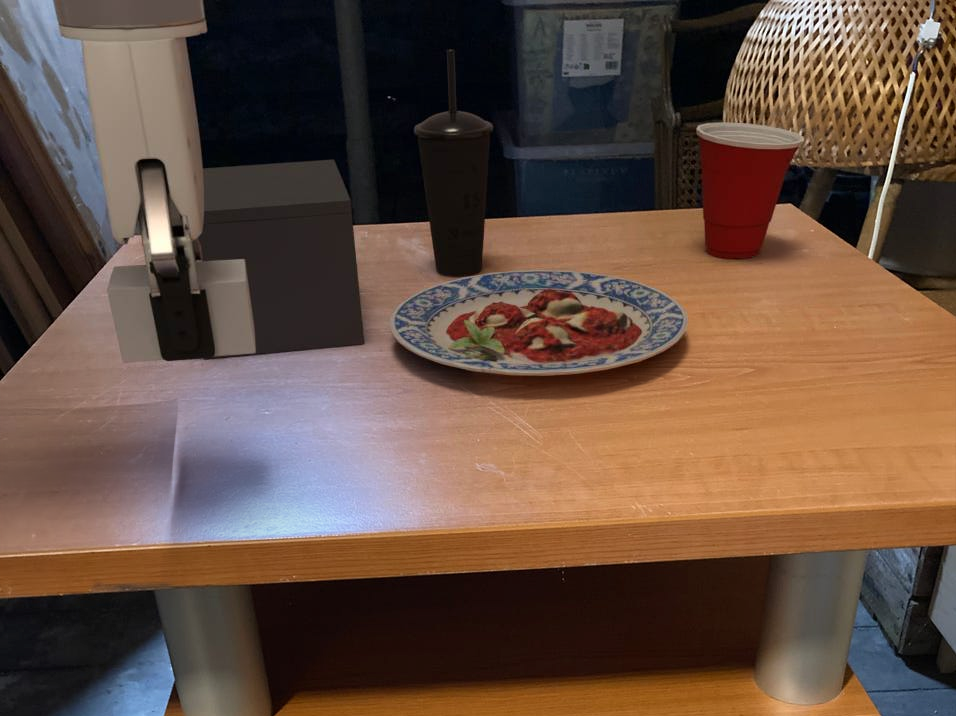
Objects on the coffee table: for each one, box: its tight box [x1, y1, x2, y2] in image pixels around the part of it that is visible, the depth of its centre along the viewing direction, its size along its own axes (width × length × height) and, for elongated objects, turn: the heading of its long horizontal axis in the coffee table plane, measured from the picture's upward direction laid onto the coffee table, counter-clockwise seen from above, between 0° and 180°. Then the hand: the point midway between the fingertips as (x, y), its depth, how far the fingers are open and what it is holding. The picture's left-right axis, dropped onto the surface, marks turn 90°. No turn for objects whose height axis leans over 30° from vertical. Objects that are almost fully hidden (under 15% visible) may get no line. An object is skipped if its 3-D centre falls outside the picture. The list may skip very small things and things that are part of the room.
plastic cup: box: [695, 121, 805, 259], centre depth 104 cm, size 11×11×12 cm
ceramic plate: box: [389, 269, 689, 377], centre depth 87 cm, size 26×26×3 cm
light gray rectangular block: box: [106, 259, 256, 364], centre depth 62 cm, size 8×4×4 cm, turn 101°
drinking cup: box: [413, 49, 494, 277], centre depth 99 cm, size 8×8×20 cm
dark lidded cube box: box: [199, 159, 365, 360], centre depth 90 cm, size 14×16×12 cm
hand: (190, 339), depth 63 cm, fingers closed on light gray rectangular block, 4 cm apart
